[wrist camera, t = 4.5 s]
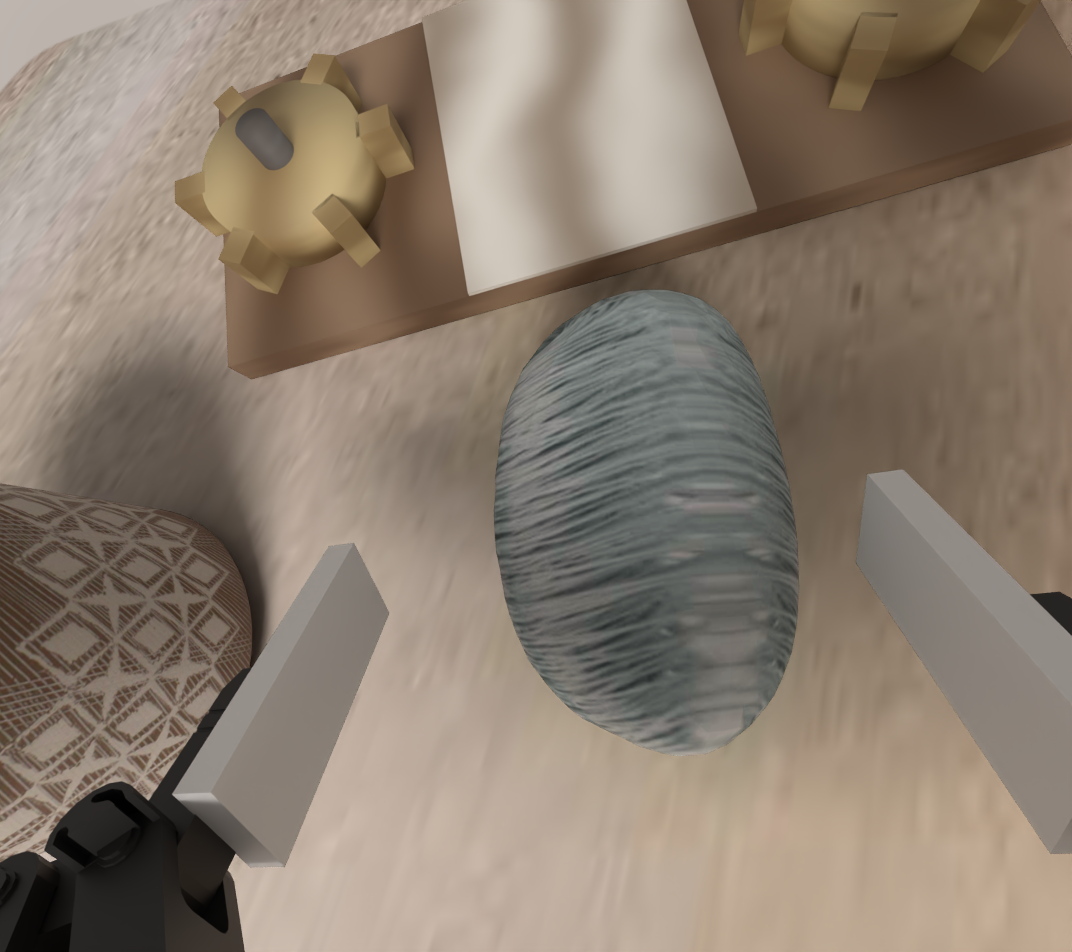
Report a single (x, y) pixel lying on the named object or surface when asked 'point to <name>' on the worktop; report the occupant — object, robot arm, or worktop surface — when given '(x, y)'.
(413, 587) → the worktop surface
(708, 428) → the grey streaked egg
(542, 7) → the gear board
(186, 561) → the planter
